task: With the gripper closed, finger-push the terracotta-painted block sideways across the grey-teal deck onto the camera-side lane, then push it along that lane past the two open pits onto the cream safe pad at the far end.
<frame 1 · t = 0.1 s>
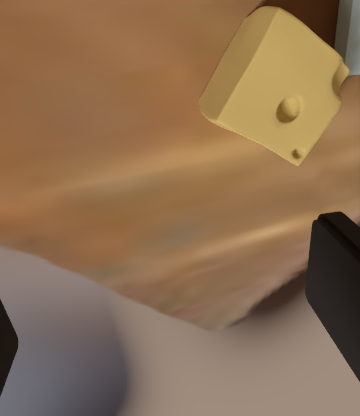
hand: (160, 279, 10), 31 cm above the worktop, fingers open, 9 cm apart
cheese: (253, 82, 38), on the worktop
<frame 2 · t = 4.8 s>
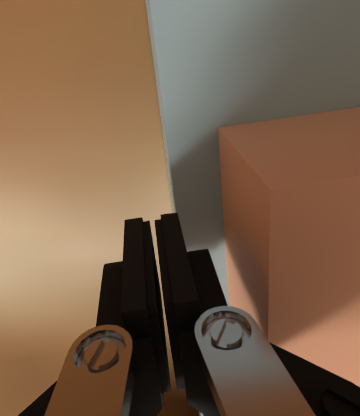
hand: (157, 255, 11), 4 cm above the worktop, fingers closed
block: (319, 209, 12), point 3 cm above the worktop, touching gripper, trap deck
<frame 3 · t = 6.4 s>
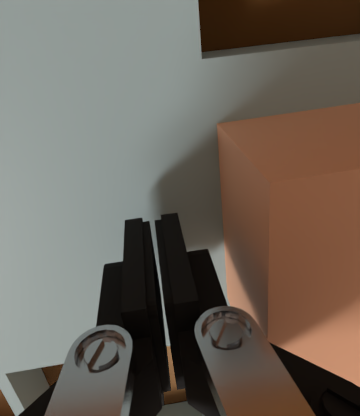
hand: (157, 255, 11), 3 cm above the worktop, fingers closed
trap deck: (197, 290, 16), on the worktop
block: (319, 207, 12), point 2 cm above the worktop, touching gripper, trap deck
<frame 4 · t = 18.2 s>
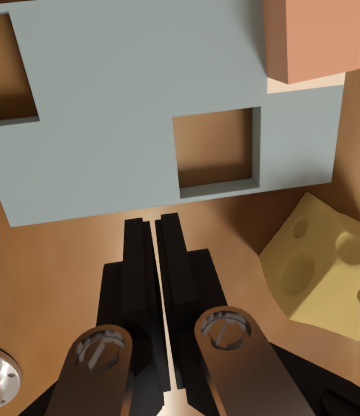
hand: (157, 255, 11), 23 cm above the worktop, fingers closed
trap deck: (163, 106, 31), on the worktop
block: (306, 22, 27), point 2 cm above the worktop, touching trap deck
cheese: (310, 240, 41), on the worktop
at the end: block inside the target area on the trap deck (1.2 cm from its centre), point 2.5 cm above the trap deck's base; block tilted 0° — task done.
